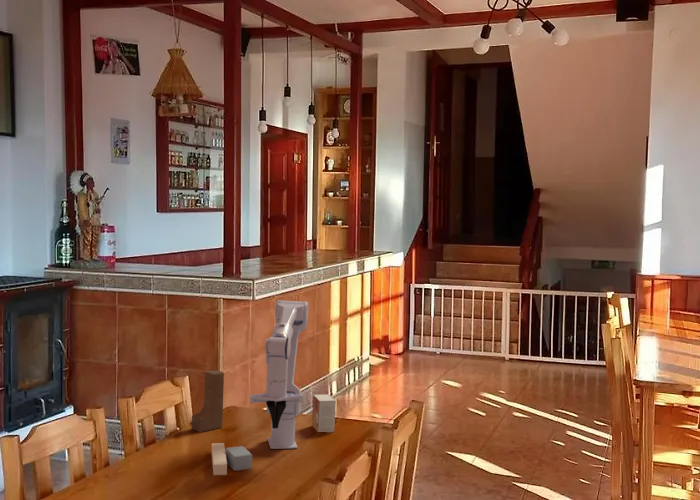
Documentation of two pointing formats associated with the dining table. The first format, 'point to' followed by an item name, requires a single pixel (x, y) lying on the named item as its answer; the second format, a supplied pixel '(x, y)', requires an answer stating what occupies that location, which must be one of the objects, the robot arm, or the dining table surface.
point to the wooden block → (211, 403)
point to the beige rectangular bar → (219, 459)
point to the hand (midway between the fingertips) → (275, 427)
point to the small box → (323, 413)
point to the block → (239, 458)
